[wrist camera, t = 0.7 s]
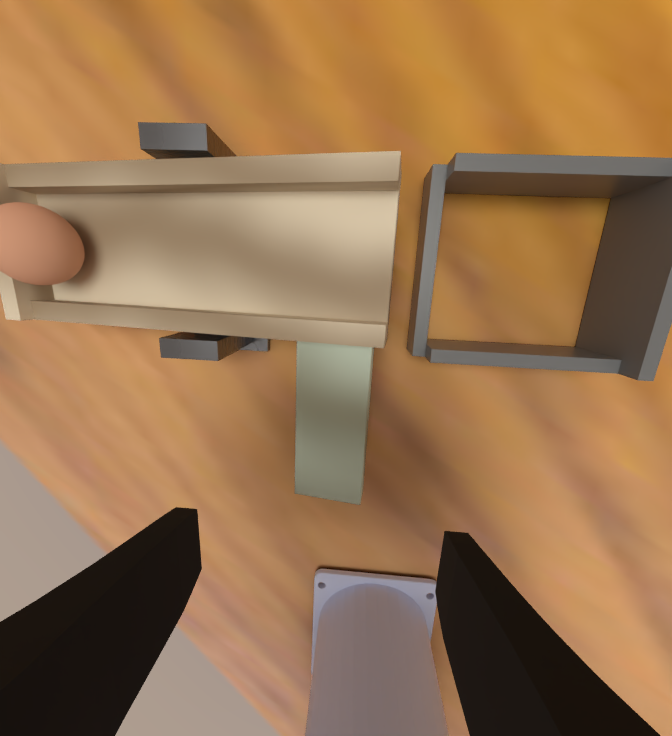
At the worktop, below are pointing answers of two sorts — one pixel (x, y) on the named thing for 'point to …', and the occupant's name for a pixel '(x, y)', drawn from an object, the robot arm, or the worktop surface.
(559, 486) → the worktop surface
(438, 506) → the worktop surface
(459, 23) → the worktop surface
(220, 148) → the pivot stand
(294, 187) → the lever
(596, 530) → the worktop surface
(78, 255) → the ball
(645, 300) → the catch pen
